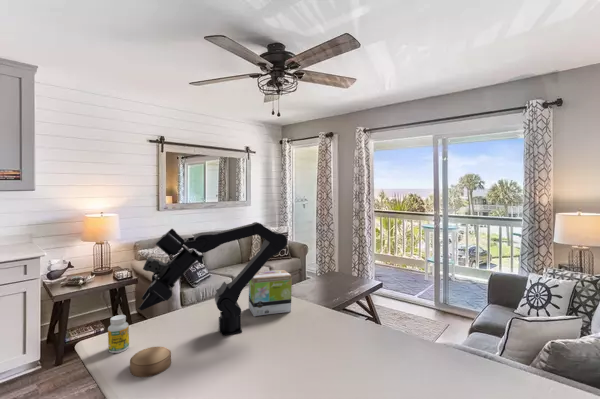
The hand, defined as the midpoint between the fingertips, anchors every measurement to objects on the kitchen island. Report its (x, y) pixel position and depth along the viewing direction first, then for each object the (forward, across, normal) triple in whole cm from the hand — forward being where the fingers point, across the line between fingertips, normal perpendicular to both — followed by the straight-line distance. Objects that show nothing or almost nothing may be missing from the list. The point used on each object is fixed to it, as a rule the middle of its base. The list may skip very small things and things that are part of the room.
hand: (141, 304), depth 97 cm
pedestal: (+6, +14, +11) cm, 19 cm away
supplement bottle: (+13, 0, +5) cm, 14 cm away
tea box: (-22, -12, +40) cm, 48 cm away
